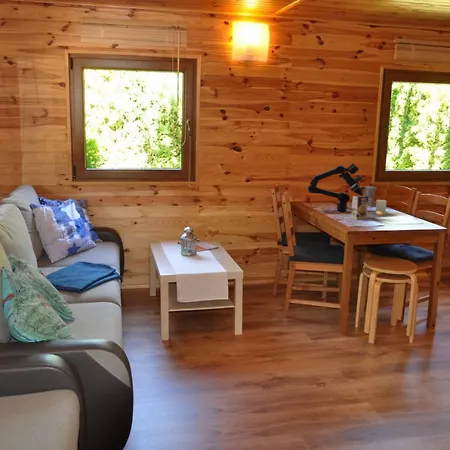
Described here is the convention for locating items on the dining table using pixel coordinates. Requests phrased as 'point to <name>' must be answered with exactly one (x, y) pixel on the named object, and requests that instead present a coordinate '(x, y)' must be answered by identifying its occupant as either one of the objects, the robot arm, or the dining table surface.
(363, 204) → the coffee box
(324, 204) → the dining table surface
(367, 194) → the coffeepot
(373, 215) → the mat
